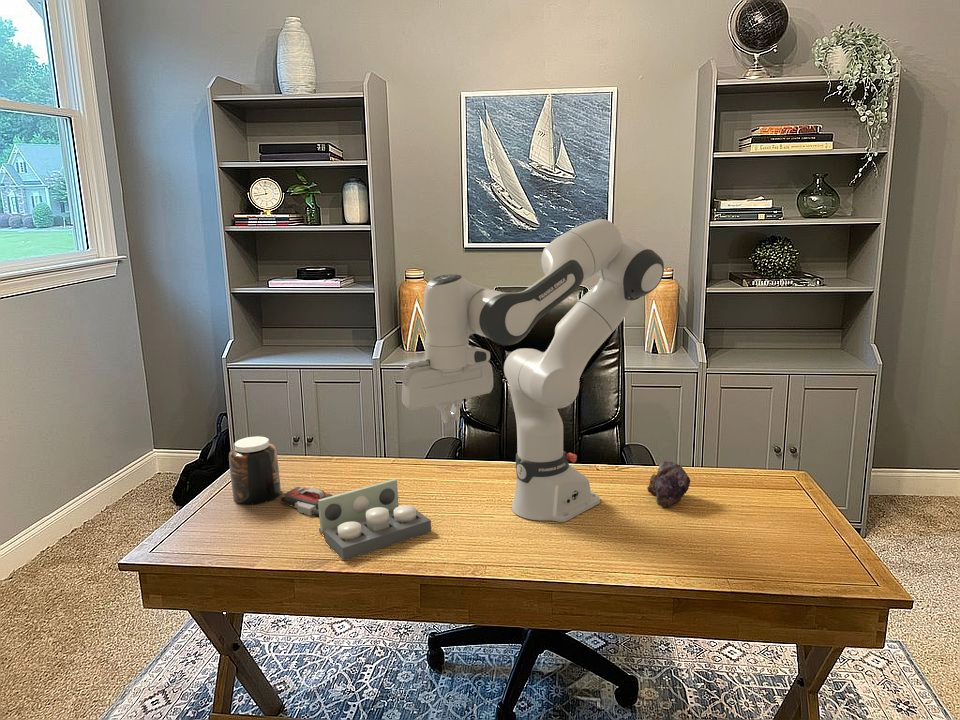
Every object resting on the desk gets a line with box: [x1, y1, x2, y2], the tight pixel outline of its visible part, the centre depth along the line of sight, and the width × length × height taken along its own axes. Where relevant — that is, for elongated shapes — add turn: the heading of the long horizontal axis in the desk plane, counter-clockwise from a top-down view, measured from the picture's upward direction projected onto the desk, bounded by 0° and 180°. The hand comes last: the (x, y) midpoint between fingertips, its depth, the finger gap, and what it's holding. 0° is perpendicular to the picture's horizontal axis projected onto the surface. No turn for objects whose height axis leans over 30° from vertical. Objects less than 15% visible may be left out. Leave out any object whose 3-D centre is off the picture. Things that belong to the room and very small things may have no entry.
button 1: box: [338, 522, 362, 542], centre depth 169 cm, size 5×5×4 cm
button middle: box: [366, 507, 389, 533], centre depth 172 cm, size 5×5×4 cm
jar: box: [228, 435, 282, 506], centre depth 196 cm, size 12×12×15 cm
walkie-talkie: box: [280, 486, 334, 516], centre depth 190 cm, size 9×4×20 cm
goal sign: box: [318, 478, 400, 537], centre depth 180 cm, size 20×3×8 cm, turn 124°
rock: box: [646, 460, 691, 508], centre depth 188 cm, size 12×9×10 cm
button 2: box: [394, 504, 417, 524], centre depth 176 cm, size 5×5×4 cm
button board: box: [324, 509, 432, 561], centre depth 173 cm, size 22×10×3 cm, turn 124°
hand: (449, 421), depth 156 cm, fingers closed
